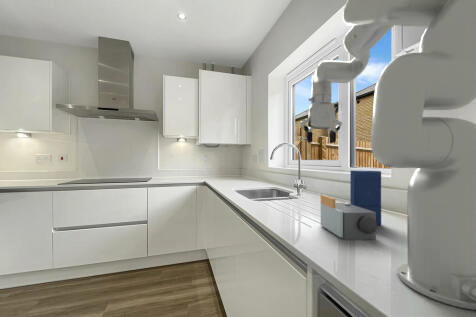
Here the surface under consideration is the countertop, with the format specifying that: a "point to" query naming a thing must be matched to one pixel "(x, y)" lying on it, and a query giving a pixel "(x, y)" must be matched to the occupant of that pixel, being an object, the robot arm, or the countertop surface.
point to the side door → (331, 216)
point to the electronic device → (366, 191)
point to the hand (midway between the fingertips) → (321, 142)
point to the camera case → (357, 222)
